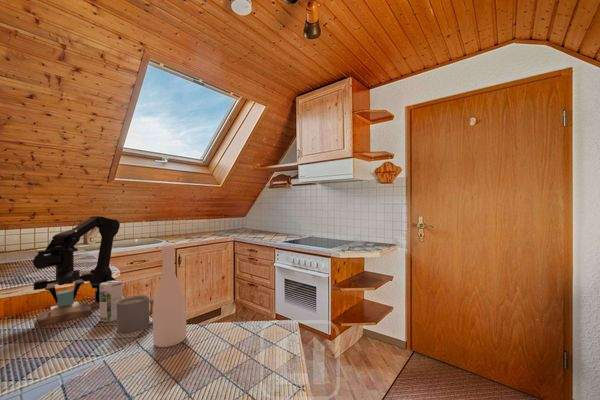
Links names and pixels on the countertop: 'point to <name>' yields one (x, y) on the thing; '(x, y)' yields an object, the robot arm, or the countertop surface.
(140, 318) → the coffee mug
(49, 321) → the stacking base
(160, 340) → the wine bottle
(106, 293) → the syrup box
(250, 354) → the countertop surface
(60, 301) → the teal cube
